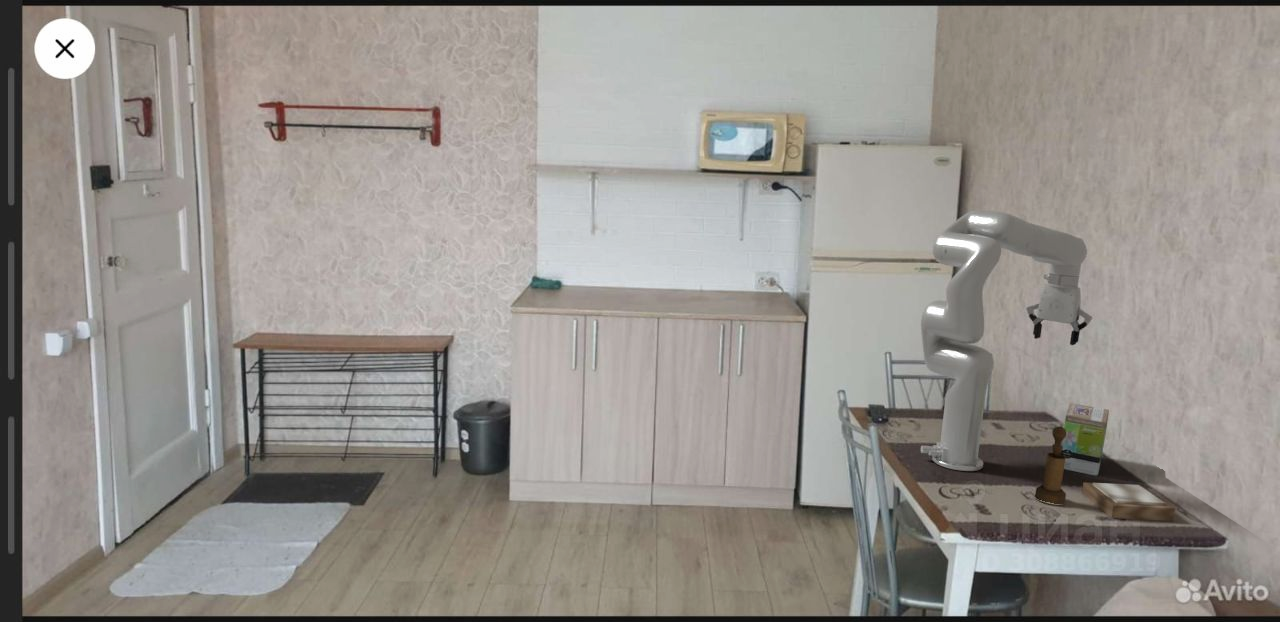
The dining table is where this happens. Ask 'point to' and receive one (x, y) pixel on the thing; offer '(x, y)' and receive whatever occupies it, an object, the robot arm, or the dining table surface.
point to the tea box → (1084, 438)
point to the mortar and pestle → (1053, 472)
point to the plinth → (1128, 501)
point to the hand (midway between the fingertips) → (1054, 341)
